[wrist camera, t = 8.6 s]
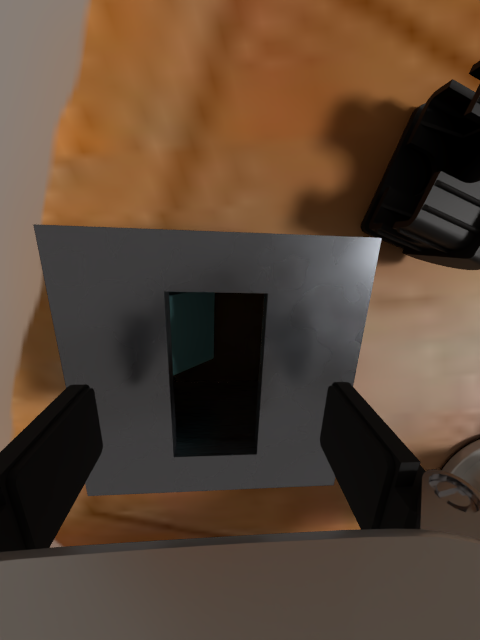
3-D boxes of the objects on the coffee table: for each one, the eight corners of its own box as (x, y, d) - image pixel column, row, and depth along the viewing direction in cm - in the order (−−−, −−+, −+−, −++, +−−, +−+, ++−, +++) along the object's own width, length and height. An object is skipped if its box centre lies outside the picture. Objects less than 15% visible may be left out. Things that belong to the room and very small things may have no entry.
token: (213, 358, 21) (214, 288, 20) (148, 386, 17) (141, 299, 15) (198, 350, 23) (197, 284, 21) (134, 375, 18) (126, 294, 16)
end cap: (425, 265, 22) (511, 276, 15) (354, 236, 21) (415, 234, 14) (495, 139, 19) (633, 88, 13) (419, 97, 18) (529, 18, 12)
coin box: (306, 238, 20) (381, 238, 11) (289, 389, 24) (333, 485, 15) (126, 231, 19) (33, 224, 10) (141, 391, 23) (87, 495, 14)
